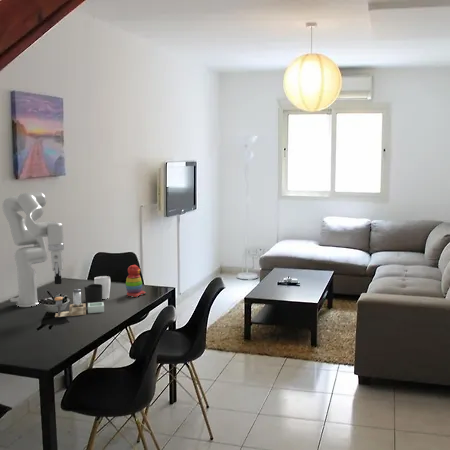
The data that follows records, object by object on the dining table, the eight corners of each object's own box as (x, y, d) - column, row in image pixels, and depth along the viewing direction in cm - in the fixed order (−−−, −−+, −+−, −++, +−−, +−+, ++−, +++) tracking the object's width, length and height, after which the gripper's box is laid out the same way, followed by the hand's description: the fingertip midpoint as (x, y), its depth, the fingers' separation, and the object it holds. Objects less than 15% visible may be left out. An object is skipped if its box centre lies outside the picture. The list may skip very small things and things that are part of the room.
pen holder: (83, 303, 306) (82, 285, 305) (100, 300, 310) (99, 283, 309) (87, 306, 298) (86, 288, 297) (104, 304, 302) (104, 286, 301)
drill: (73, 314, 280) (72, 290, 279) (74, 312, 284) (72, 289, 283) (81, 313, 281) (80, 290, 280) (82, 311, 285) (80, 288, 284)
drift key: (54, 307, 278) (54, 299, 277) (55, 305, 282) (54, 297, 281) (63, 306, 279) (62, 298, 278) (63, 304, 283) (63, 296, 282)
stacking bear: (136, 298, 315) (135, 267, 313) (122, 296, 319) (120, 266, 317) (147, 294, 324) (146, 264, 322) (133, 292, 329) (131, 262, 327)
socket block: (54, 318, 276) (54, 306, 275) (56, 313, 285) (55, 302, 284) (86, 316, 279) (85, 304, 279) (86, 311, 288) (85, 300, 287)
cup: (112, 299, 313) (111, 278, 312) (96, 301, 310) (95, 279, 309) (109, 295, 322) (108, 275, 320) (93, 297, 318) (92, 276, 317)
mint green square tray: (88, 314, 282) (87, 306, 282) (88, 310, 290) (87, 303, 289) (104, 313, 284) (103, 305, 283) (103, 309, 292) (103, 302, 291)
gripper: (63, 249, 270) (65, 286, 272) (64, 245, 285) (66, 280, 287) (47, 250, 269) (49, 287, 271) (49, 246, 283) (51, 281, 285)
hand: (58, 283), depth 279 cm, fingers closed
